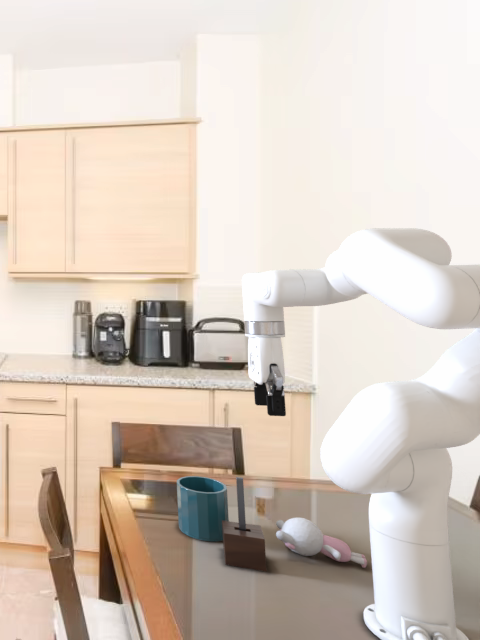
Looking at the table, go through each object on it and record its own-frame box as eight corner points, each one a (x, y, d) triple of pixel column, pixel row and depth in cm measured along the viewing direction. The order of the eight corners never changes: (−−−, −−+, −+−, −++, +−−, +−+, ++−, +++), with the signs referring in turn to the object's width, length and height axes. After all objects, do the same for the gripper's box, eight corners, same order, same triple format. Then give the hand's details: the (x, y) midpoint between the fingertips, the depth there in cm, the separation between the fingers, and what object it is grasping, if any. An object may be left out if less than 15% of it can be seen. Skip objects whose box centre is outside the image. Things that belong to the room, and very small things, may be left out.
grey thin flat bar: (250, 562, 100) (245, 478, 102) (238, 560, 101) (233, 477, 102) (250, 560, 101) (245, 477, 102) (238, 558, 102) (233, 476, 103)
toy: (351, 572, 103) (270, 529, 110) (365, 542, 102) (282, 500, 109) (359, 594, 96) (271, 546, 103) (374, 562, 95) (284, 515, 102)
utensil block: (266, 571, 97) (264, 539, 97) (225, 564, 100) (223, 533, 100) (262, 556, 103) (260, 525, 103) (223, 550, 105) (221, 520, 106)
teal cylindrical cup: (231, 544, 107) (228, 496, 108) (178, 536, 111) (176, 489, 112) (227, 524, 117) (225, 479, 117) (179, 517, 121) (177, 473, 121)
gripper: (236, 326, 120) (240, 401, 118) (255, 332, 103) (261, 419, 102) (272, 326, 118) (277, 402, 116) (298, 332, 101) (304, 421, 100)
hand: (269, 410), depth 109 cm, fingers open, 9 cm apart
